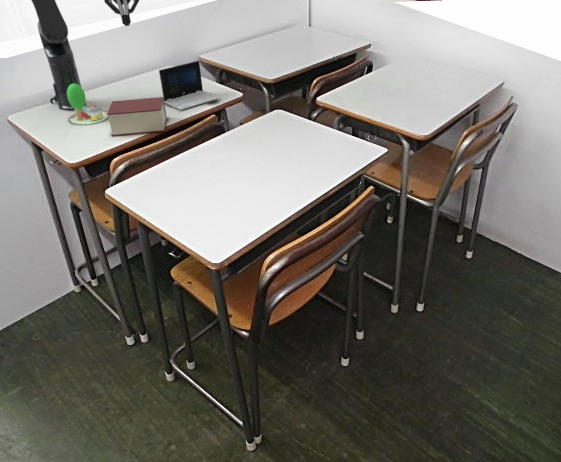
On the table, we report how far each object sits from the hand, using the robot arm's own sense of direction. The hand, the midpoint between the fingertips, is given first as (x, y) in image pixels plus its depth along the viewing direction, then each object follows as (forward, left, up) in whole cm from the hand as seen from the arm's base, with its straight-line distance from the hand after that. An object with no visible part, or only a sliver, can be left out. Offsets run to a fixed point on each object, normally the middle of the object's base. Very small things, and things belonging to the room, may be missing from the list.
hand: (127, 25), depth 193 cm
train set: (-18, -13, -29) cm, 37 cm away
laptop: (+20, -4, -29) cm, 36 cm away
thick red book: (+3, -27, -29) cm, 40 cm away
